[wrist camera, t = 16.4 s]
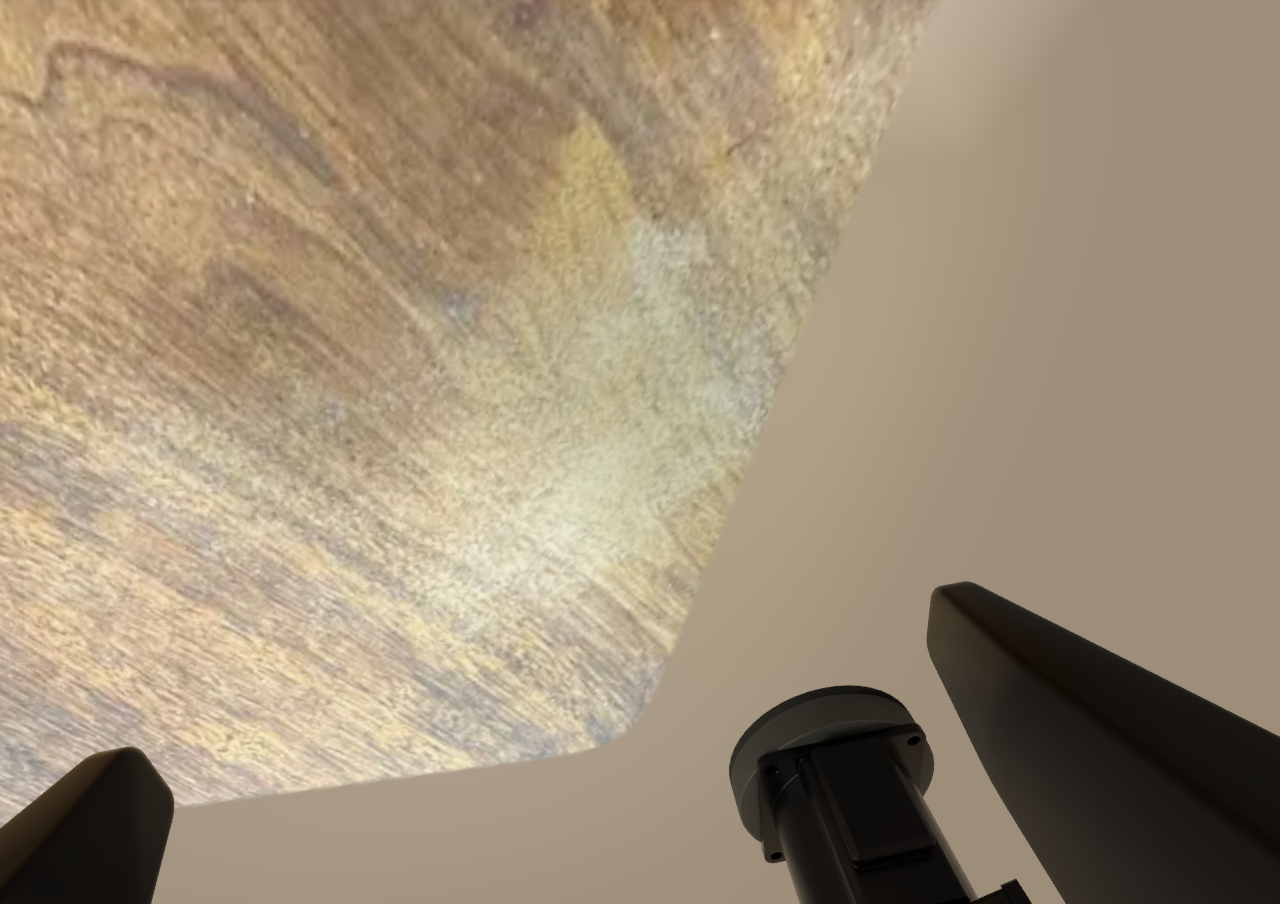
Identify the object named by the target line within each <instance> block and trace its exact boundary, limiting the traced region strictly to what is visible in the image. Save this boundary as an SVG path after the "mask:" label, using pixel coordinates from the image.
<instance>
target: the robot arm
mask: <svg viewBox="0 0 1280 904" xmlns="http://www.w3.org/2000/svg"><path fill="white" fill-rule="evenodd" d="M927 647H928V651H929V654H930V657H931V659H932V662H933V664H934V666H935V668H936V670H937V672H938V674H939V676H940V678H941V680H942V682H943V684H944V686H945V688H946V691H947V693H948V695H949V697H950V699H951V701H952V703H953V705H954V707H955V709H956V711H957V713H958V715H959V717H960V719H961V721H962V724H963V726H964V728H965V730H966V732H967V734H968V736H969V738H970V740H971V742H972V744H973V746H974V748H975V750H976V752H977V754H978V757H979V759H980V761H981V763H982V765H983V767H984V768H985V770H986V772H987V774H988V776H989V778H990V780H991V782H992V784H993V785H994V787H995V789H996V791H997V792H998V794H999V796H1000V797H1001V799H1002V800H1003V802H1004V804H1005V806H1006V807H1007V809H1008V811H1009V812H1010V814H1011V815H1012V817H1013V819H1014V820H1015V822H1016V824H1017V825H1018V827H1019V828H1020V830H1021V832H1022V833H1023V835H1024V836H1025V838H1026V840H1027V841H1028V843H1029V845H1030V846H1031V848H1032V849H1033V851H1034V853H1035V854H1036V856H1037V858H1038V859H1039V861H1040V863H1041V864H1042V866H1043V867H1044V869H1045V871H1046V872H1047V874H1048V875H1049V877H1050V879H1051V880H1052V882H1053V884H1054V885H1055V887H1056V888H1057V890H1058V892H1059V893H1060V895H1061V897H1062V898H1063V900H1064V901H1065V903H1066V904H1280V737H1279V736H1277V735H1275V734H1273V733H1271V732H1269V731H1267V730H1265V729H1263V728H1261V727H1259V726H1257V725H1255V724H1254V723H1252V722H1250V721H1248V720H1246V719H1244V718H1242V717H1239V716H1237V715H1236V714H1234V713H1232V712H1230V711H1228V710H1225V709H1224V708H1222V707H1220V706H1218V705H1216V704H1214V703H1212V702H1210V701H1208V700H1206V699H1204V698H1202V697H1200V696H1198V695H1196V694H1194V693H1192V692H1190V691H1188V690H1186V689H1184V688H1182V687H1180V686H1178V685H1176V684H1174V683H1172V682H1170V681H1168V680H1166V679H1164V678H1162V677H1160V676H1158V675H1156V674H1154V673H1152V672H1150V671H1148V670H1146V669H1144V668H1142V667H1140V666H1138V665H1136V664H1134V663H1132V662H1130V661H1128V660H1126V659H1124V658H1122V657H1120V656H1118V655H1116V654H1114V653H1112V652H1110V651H1108V650H1106V649H1104V648H1102V647H1100V646H1098V645H1096V644H1094V643H1092V642H1090V641H1089V640H1086V639H1085V638H1082V637H1081V636H1079V635H1077V634H1075V633H1073V632H1071V631H1068V630H1067V629H1065V628H1063V627H1061V626H1059V625H1057V624H1055V623H1052V622H1051V621H1049V620H1047V619H1045V618H1042V617H1041V616H1038V615H1037V614H1035V613H1033V612H1031V611H1029V610H1027V609H1025V608H1023V607H1021V606H1019V605H1017V604H1015V603H1013V602H1011V601H1009V600H1007V599H1005V598H1003V597H1001V596H999V595H997V594H995V593H993V592H991V591H989V590H987V589H985V588H983V587H981V586H979V585H977V584H975V583H972V582H959V583H955V584H949V585H944V586H939V587H937V588H935V590H934V591H933V593H932V596H931V602H930V612H929V620H928V630H927ZM925 743H926V736H925V733H924V732H923V730H922V728H921V727H920V726H919V725H918V724H916V723H908V724H903V725H899V726H894V727H889V728H884V729H880V730H875V731H870V732H865V733H860V734H856V735H851V736H846V737H841V738H836V739H832V740H827V741H822V742H817V743H812V744H808V745H803V746H798V747H793V748H789V749H784V750H779V751H774V752H769V753H766V754H764V755H762V756H761V757H759V759H758V760H757V763H756V767H757V782H758V797H759V812H760V828H761V843H762V851H763V854H764V857H765V860H766V861H767V862H769V863H778V862H782V861H786V863H787V866H788V869H789V872H790V875H791V878H792V881H793V884H794V887H795V890H796V893H797V896H798V899H799V902H800V904H1032V903H1031V902H1030V900H1029V898H1028V897H1027V895H1026V894H1025V892H1024V890H1023V889H1022V887H1021V886H1020V884H1019V883H1018V881H1017V879H1014V880H1011V881H1009V882H1007V883H1004V884H1002V885H1001V887H1002V889H1000V890H997V891H995V892H993V893H990V894H988V895H986V896H984V897H981V898H978V897H977V895H976V893H975V891H974V889H973V888H972V886H971V884H970V882H969V880H968V878H967V877H966V875H965V873H964V871H963V870H962V868H961V866H960V864H959V862H958V860H957V859H956V857H955V855H954V853H953V851H952V850H951V848H950V846H949V844H948V842H947V841H946V838H945V837H944V835H943V833H942V831H941V829H940V828H939V826H938V824H937V822H936V820H935V818H934V817H933V815H932V813H931V811H930V810H929V808H928V806H927V804H926V802H925V800H924V798H923V797H922V795H921V793H920V785H921V777H922V768H923V760H924V751H925ZM173 814H174V797H173V794H172V791H171V789H170V788H169V786H168V785H167V784H166V782H165V781H164V780H163V778H162V777H161V776H160V774H159V773H158V771H157V770H156V769H155V767H154V766H153V765H152V763H151V762H150V761H149V759H148V758H147V756H146V755H145V754H144V753H143V752H142V751H141V750H140V749H138V748H135V747H123V748H118V749H113V750H108V751H103V752H98V753H96V754H93V755H91V756H89V757H87V758H86V759H84V760H83V761H82V762H81V763H79V764H78V765H77V766H76V767H75V768H73V769H72V770H71V771H70V772H68V773H67V774H66V775H65V776H64V777H62V778H61V779H60V780H59V781H58V782H56V783H55V784H54V785H53V786H51V787H50V788H49V789H48V790H47V791H45V792H44V793H43V794H42V795H41V796H39V797H38V798H37V799H36V800H34V801H33V802H32V803H31V804H30V805H28V806H27V807H26V808H25V809H23V810H22V811H21V812H20V813H19V814H17V815H16V816H15V817H14V818H13V819H11V820H10V821H9V822H8V823H6V824H5V825H4V826H3V827H2V828H0V904H151V902H152V897H153V894H154V890H155V886H156V882H157V878H158V874H159V870H160V866H161V863H162V859H163V854H164V851H165V847H166V843H167V839H168V835H169V831H170V827H171V823H172V819H173Z"/></svg>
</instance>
